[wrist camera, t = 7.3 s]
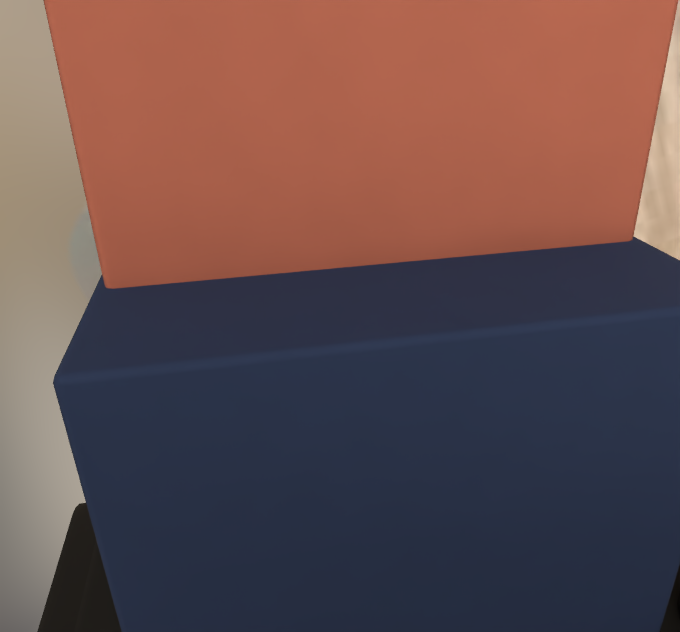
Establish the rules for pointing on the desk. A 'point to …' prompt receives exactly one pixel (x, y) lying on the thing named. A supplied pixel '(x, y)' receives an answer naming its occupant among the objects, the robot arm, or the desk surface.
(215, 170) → the navy and orange box
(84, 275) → the desk surface
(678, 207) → the desk surface
